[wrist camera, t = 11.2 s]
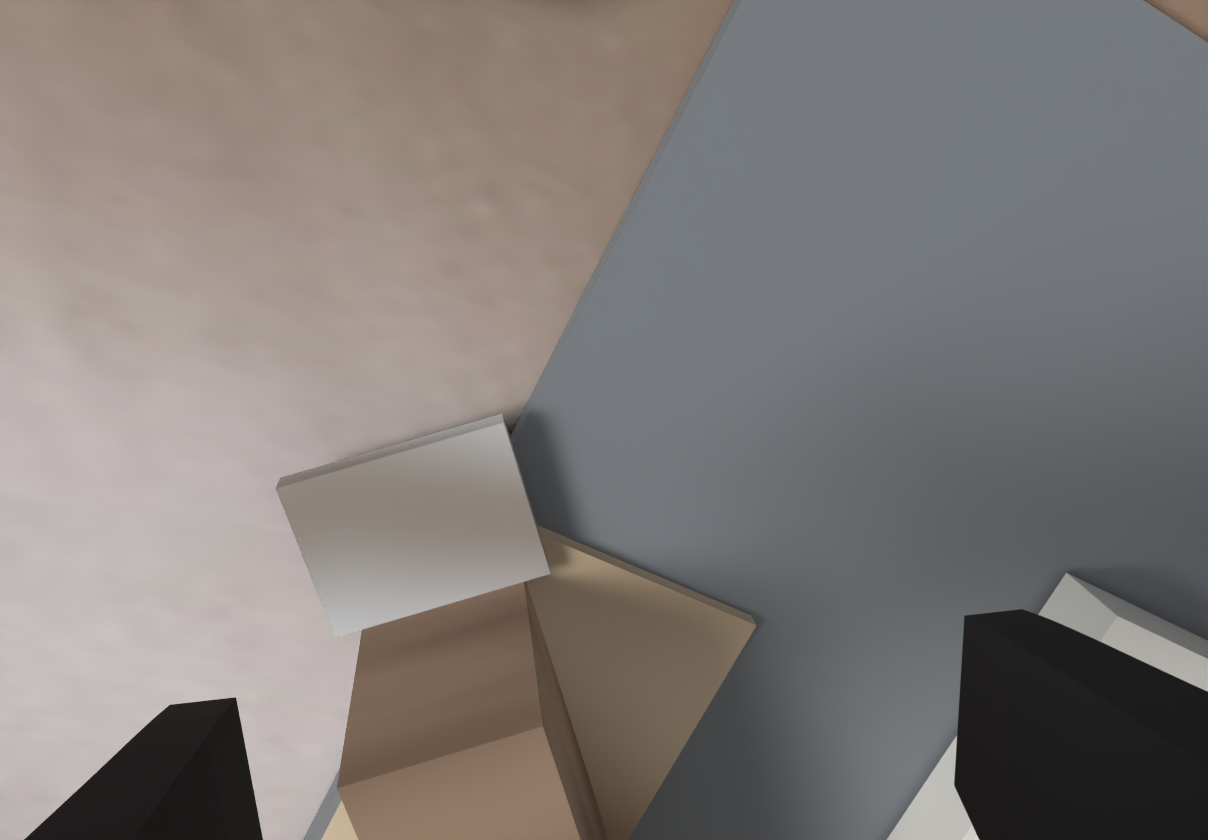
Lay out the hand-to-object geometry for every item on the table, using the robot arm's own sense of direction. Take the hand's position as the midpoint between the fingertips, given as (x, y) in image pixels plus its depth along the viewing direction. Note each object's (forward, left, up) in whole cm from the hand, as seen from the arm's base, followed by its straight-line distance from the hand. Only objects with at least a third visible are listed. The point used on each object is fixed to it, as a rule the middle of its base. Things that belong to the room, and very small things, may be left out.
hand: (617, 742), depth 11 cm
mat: (+1, +8, -10) cm, 13 cm away
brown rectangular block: (+6, +2, -9) cm, 11 cm away
